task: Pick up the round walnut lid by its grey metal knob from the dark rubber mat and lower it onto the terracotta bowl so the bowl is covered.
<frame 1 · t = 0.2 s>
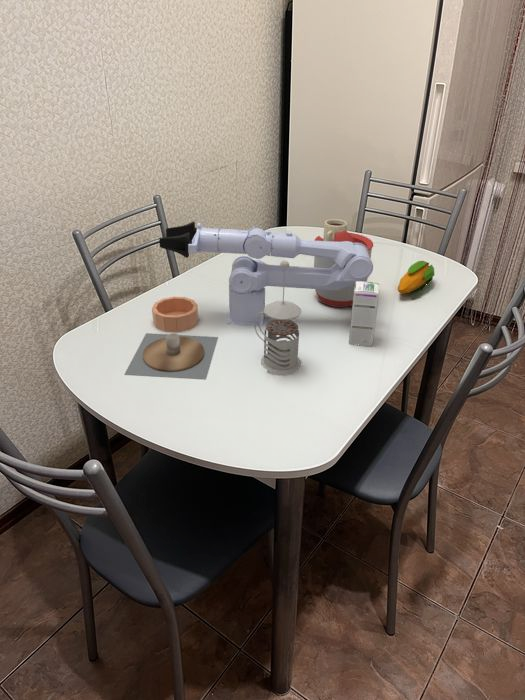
hand: (163, 237, 126), 21 cm above the table, tool horizontal, fingers open, 7 cm apart
lid: (173, 354, 120), resting on mat
citrus juicer: (335, 298, 148), on the table
bowl: (176, 322, 134), on the table
character mug: (332, 261, 171), on the table
mat: (174, 356, 121), on the table
syrup box: (360, 340, 128), on the table
corn: (413, 290, 153), on the table
french press: (277, 362, 119), on the table
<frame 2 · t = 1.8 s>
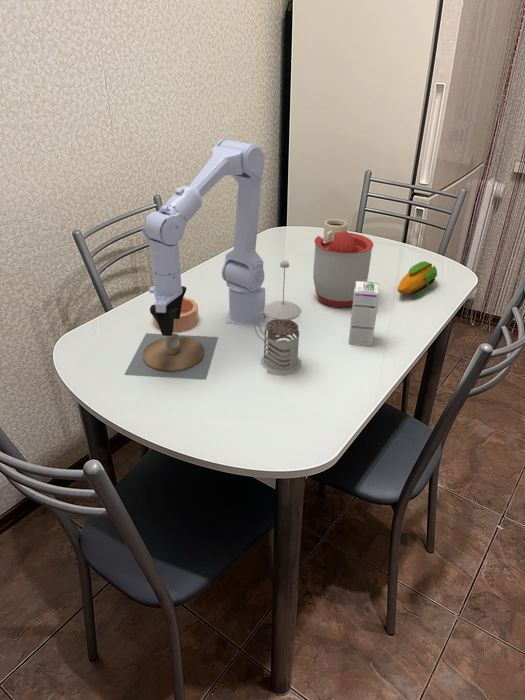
hand: (171, 326, 116), 8 cm above the table, tool pointing down, fingers open, 7 cm apart
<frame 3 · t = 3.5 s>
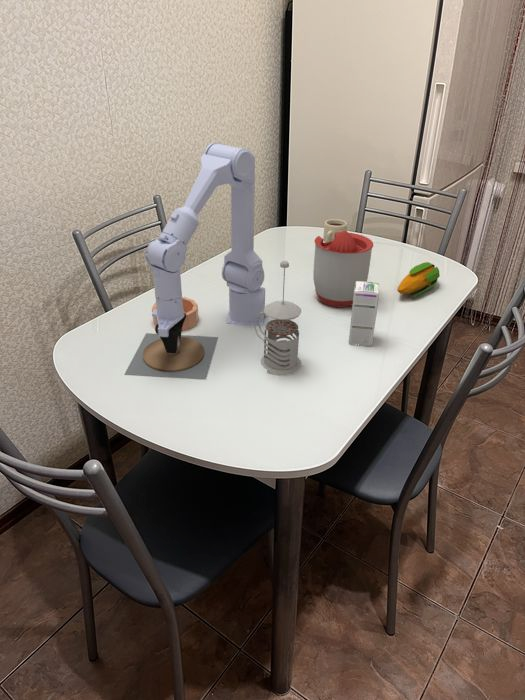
hand: (173, 348, 119), 2 cm above the table, tool pointing down, fingers closed on lid, 3 cm apart
lid: (173, 354, 120), resting on mat, touching gripper
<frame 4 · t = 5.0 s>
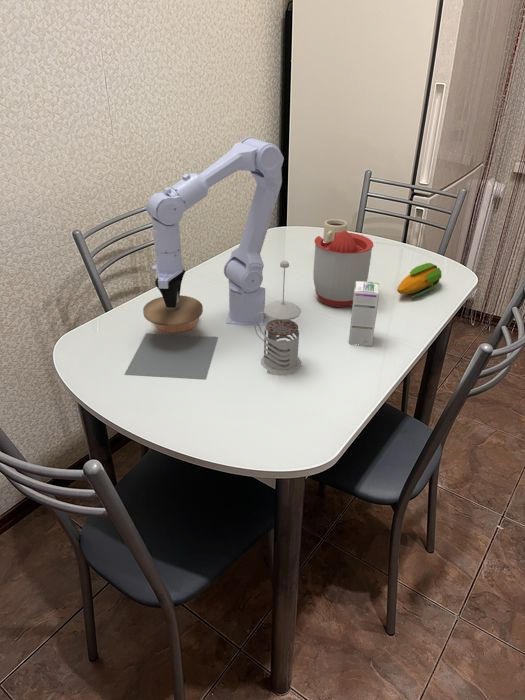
hand: (172, 303, 123), 9 cm above the table, tool pointing down, fingers closed on lid, 3 cm apart
lid: (173, 311, 124), point 7 cm above the table, touching gripper
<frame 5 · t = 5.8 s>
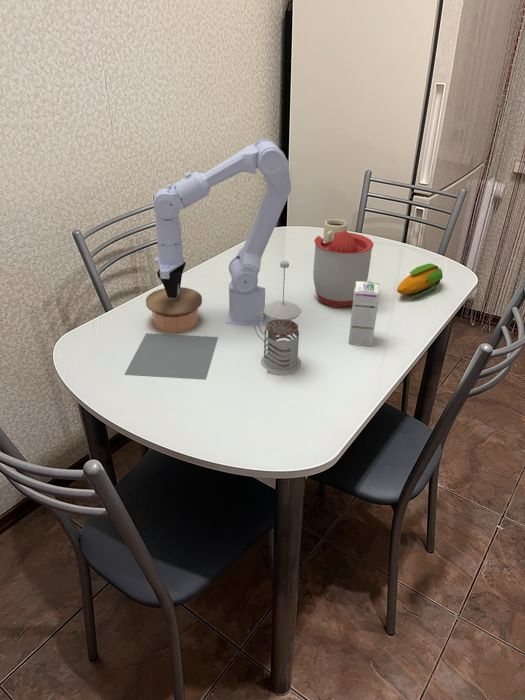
hand: (173, 293, 130), 8 cm above the table, tool pointing down, fingers closed on lid, 3 cm apart
lid: (174, 301, 131), point 6 cm above the table, touching gripper
when the fingers open (8 cm above the table, at t = 6.5 s): lid drops 1 cm, resting on bowl.
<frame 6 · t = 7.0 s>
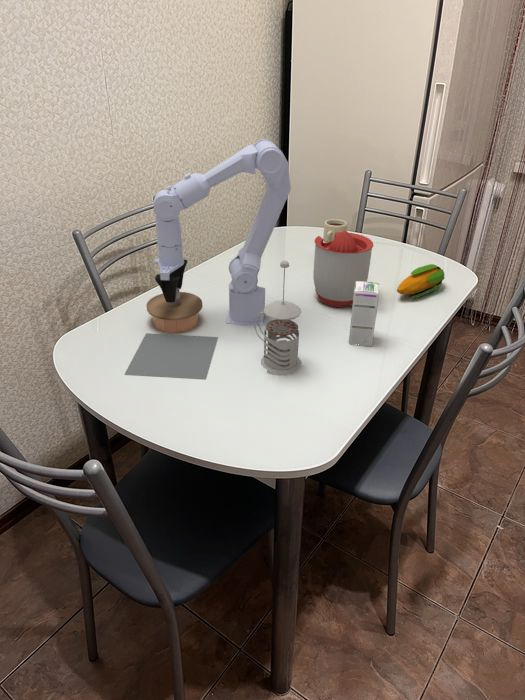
hand: (174, 294, 130), 8 cm above the table, tool pointing down, fingers open, 7 cm apart
lid: (174, 306, 132), point 4 cm above the table, touching bowl
bowl: (176, 322, 134), on the table, touching lid
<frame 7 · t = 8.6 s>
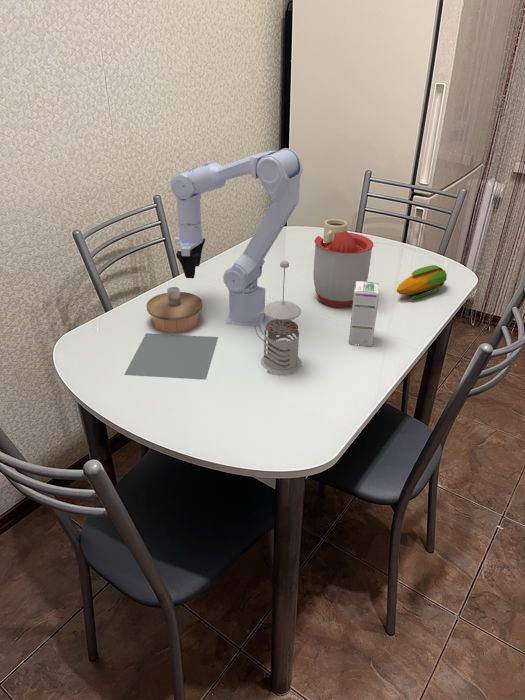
hand: (192, 271, 137), 10 cm above the table, tool pointing down, fingers open, 7 cm apart
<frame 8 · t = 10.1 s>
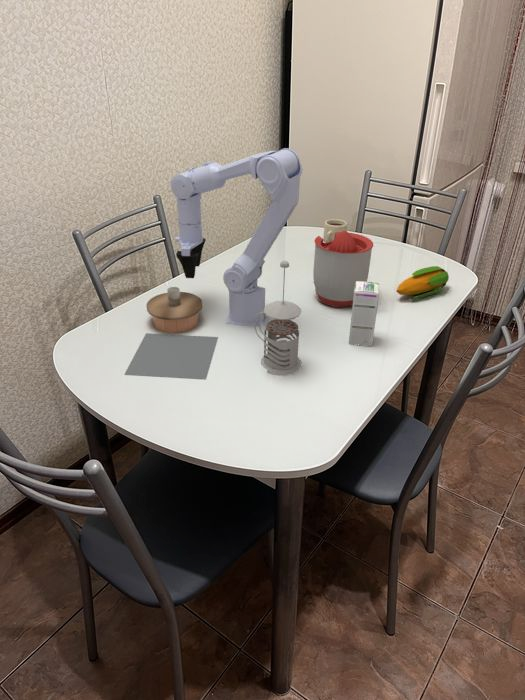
hand: (192, 271, 137), 10 cm above the table, tool pointing down, fingers open, 7 cm apart
at the end: lid 0.0 cm from the bowl (horizontally); lid point 4.5 cm above the table; lid tilted 0° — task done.
